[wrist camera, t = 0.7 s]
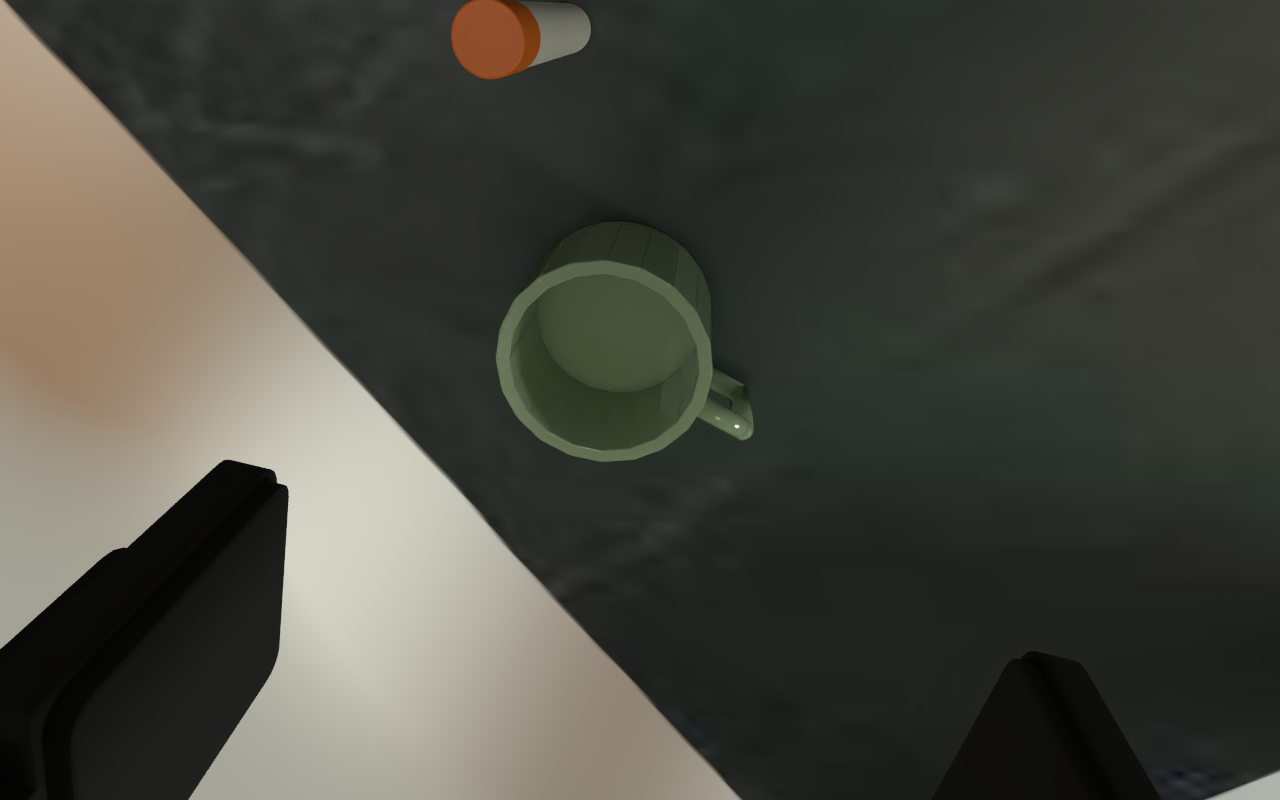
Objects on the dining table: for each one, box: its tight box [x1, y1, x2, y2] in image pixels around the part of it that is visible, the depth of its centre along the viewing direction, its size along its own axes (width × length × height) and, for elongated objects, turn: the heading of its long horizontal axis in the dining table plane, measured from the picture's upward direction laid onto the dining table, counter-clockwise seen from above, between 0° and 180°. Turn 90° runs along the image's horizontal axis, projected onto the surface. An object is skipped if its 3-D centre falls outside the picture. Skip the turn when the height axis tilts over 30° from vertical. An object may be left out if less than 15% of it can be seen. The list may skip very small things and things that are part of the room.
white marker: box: [451, 0, 591, 79], centre depth 30 cm, size 2×2×14 cm
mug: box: [496, 221, 754, 462], centre depth 39 cm, size 12×9×7 cm
